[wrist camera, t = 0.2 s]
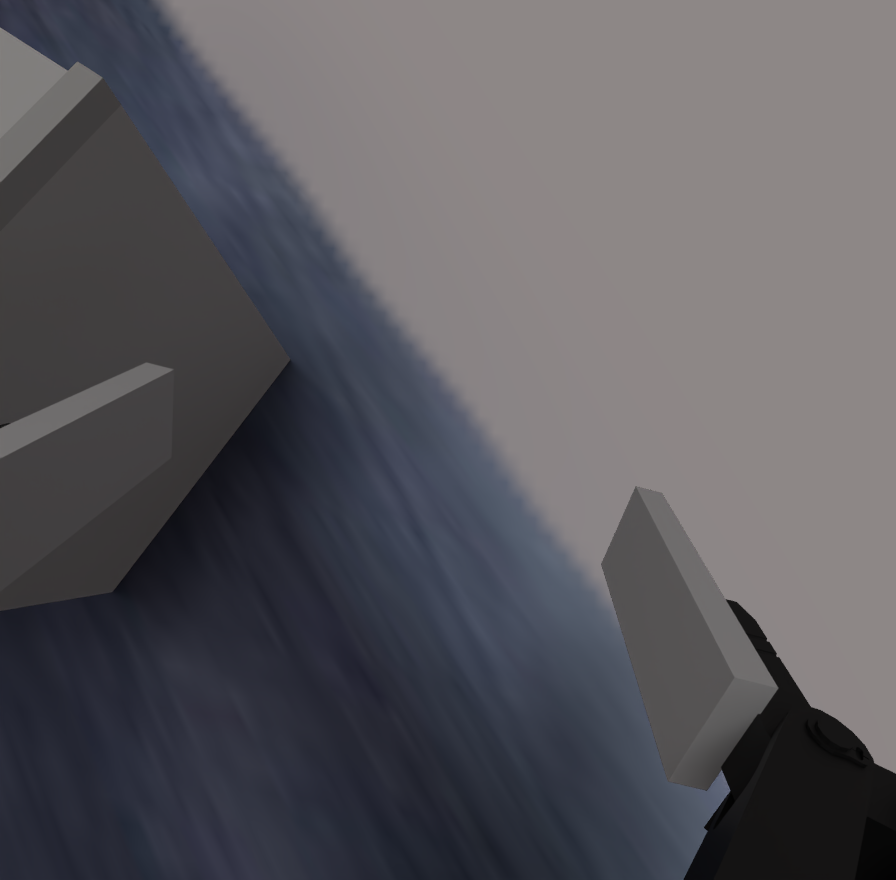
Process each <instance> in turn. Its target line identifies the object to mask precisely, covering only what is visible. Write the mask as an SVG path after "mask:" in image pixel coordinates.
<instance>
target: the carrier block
mask: <svg viewBox="0 0 896 880" xmlns="http://www.w3.org/2000/svg"><path fill="white" fill-rule="evenodd" d="M289 361H290V358H289V357H288V355H287V354H286V352H285V351H284V349H283V348H282V346H281V345H280V343H279V342H278V340H277V339H276V337H275V336H274V334H273V333H272V331H271V330H270V328H269V327H268V325H267V324H266V322H265V321H264V319H263V318H262V316H261V315H260V313H259V312H258V310H257V309H256V307H255V306H254V304H253V303H252V301H251V300H250V298H249V297H248V295H247V294H246V292H245V291H244V289H243V288H242V286H241V285H240V283H239V282H238V280H237V279H236V277H235V276H234V274H233V272H232V271H231V269H230V268H229V266H228V265H227V263H226V262H225V260H224V259H223V257H222V256H221V254H220V253H219V251H218V250H217V248H216V247H215V245H214V244H213V242H212V241H211V239H210V238H209V236H208V235H207V233H206V232H205V230H204V229H203V227H202V226H201V224H200V223H199V221H198V220H197V218H196V217H195V215H194V214H193V212H192V211H191V209H190V208H189V206H188V205H187V203H186V202H185V200H184V199H183V197H182V196H181V194H180V193H179V191H178V190H177V188H176V187H175V185H174V184H173V182H172V181H171V179H170V178H169V176H168V175H167V173H166V172H165V170H164V169H163V167H162V166H161V164H160V163H159V161H158V160H157V158H156V157H155V155H154V154H153V152H152V151H151V149H150V148H149V146H148V145H147V143H146V142H145V140H144V139H143V137H142V136H141V134H140V133H139V131H138V130H137V128H136V127H135V125H134V124H133V122H132V121H131V119H130V118H129V116H128V115H127V113H126V112H125V110H124V109H123V107H122V106H121V104H120V103H119V101H118V100H117V98H116V97H115V95H114V94H113V92H112V91H111V89H110V88H109V86H108V85H107V83H106V82H105V80H104V79H103V78H102V77H101V76H99V75H98V74H96V73H94V72H93V71H91V70H90V69H88V68H87V67H85V66H84V65H82V64H80V63H79V62H76V63H75V64H74V65H73V66H72V67H71V68H70V69H69V70H68V71H67V70H65V69H64V68H62V67H61V66H59V65H58V64H56V63H55V62H53V61H51V60H50V59H48V58H47V57H45V56H44V55H42V54H41V53H39V52H37V51H36V50H34V49H33V48H31V47H30V46H28V45H27V44H25V43H23V42H22V41H20V40H19V39H17V38H16V37H14V36H12V35H11V34H9V33H8V32H6V31H5V30H3V29H2V28H0V425H2V424H6V423H13V422H15V421H18V420H20V419H22V418H24V417H27V416H29V415H31V414H33V413H35V412H38V411H40V410H42V409H44V408H47V407H49V406H51V405H53V404H55V403H58V402H60V401H62V400H64V399H66V398H69V397H71V396H73V395H75V394H78V393H80V392H82V391H84V390H86V389H89V388H91V387H93V386H95V385H98V384H100V383H102V382H104V381H106V380H109V379H111V378H113V377H115V376H117V375H120V374H122V373H124V372H126V371H129V370H131V369H133V368H135V367H137V366H140V365H142V364H144V363H146V362H147V363H151V364H154V365H158V366H162V367H166V368H170V369H174V389H173V422H172V456H171V458H170V459H169V460H168V461H166V462H165V463H164V464H163V465H161V466H160V467H159V468H157V469H156V470H155V471H154V472H152V473H151V474H150V475H148V476H147V477H146V478H145V479H143V480H142V481H141V482H140V483H138V484H137V485H136V486H134V487H133V488H132V489H131V490H129V491H128V492H127V493H125V494H124V495H123V496H122V497H120V498H119V499H118V500H117V501H115V502H114V503H113V504H111V505H110V506H109V507H108V508H106V509H105V510H104V511H102V512H101V513H100V514H99V515H97V516H96V517H95V518H94V519H92V520H91V521H90V522H88V523H87V524H86V525H85V526H83V527H82V528H81V529H79V530H78V531H77V532H76V533H74V534H73V535H72V536H71V537H69V538H68V539H67V540H65V541H64V542H63V543H62V544H60V545H59V546H58V547H57V548H55V549H54V550H53V551H51V552H50V553H49V554H48V555H46V556H45V557H44V558H42V559H41V560H40V561H39V562H37V563H36V564H35V565H34V566H32V567H31V568H30V569H28V570H27V571H26V572H25V573H23V574H22V575H21V576H19V577H18V578H17V579H16V580H14V581H13V582H12V583H11V584H9V585H8V586H7V587H5V588H4V589H3V590H2V591H0V611H2V610H8V609H14V608H20V607H26V606H32V605H38V604H44V603H50V602H56V601H62V600H68V599H75V598H81V597H87V596H93V595H99V594H105V593H111V592H113V591H114V590H115V588H116V587H117V586H118V584H119V583H120V582H121V580H122V579H123V578H124V576H125V575H126V574H127V573H128V571H129V570H130V569H131V567H132V566H133V565H134V563H135V562H136V561H137V559H138V558H139V557H140V556H141V554H142V553H143V552H144V550H145V549H146V548H147V546H148V545H149V544H150V542H151V541H152V540H153V539H154V537H155V536H156V535H157V533H158V532H159V531H160V529H161V528H162V527H163V526H164V524H165V523H166V522H167V520H168V519H169V518H170V516H171V515H172V514H173V512H174V511H175V510H176V509H177V507H178V506H179V505H180V503H181V502H182V501H183V499H184V498H185V497H186V495H187V494H188V493H189V492H190V490H191V489H192V488H193V486H194V485H195V484H196V482H197V481H198V480H199V479H200V477H201V476H202V475H203V473H204V472H205V471H206V469H207V468H208V467H209V465H210V464H211V463H212V462H213V460H214V459H215V458H216V456H217V455H218V454H219V452H220V451H221V450H222V448H223V447H224V446H225V445H226V443H227V442H228V441H229V439H230V438H231V437H232V435H233V434H234V433H235V432H236V430H237V429H238V428H239V426H240V425H241V424H242V422H243V421H244V420H245V418H246V417H247V416H248V415H249V413H250V412H251V411H252V409H253V408H254V407H255V405H256V404H257V403H258V401H259V400H260V399H261V398H262V396H263V395H264V394H265V392H266V391H267V390H268V388H269V387H270V386H271V384H272V383H273V382H274V381H275V379H276V378H277V377H278V375H279V374H280V373H281V371H282V370H283V369H284V368H285V366H286V365H287V364H288V362H289Z"/></svg>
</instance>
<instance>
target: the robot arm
mask: <svg viewBox="0 0 896 880" xmlns="http://www.w3.org/2000/svg"><path fill="white" fill-rule="evenodd" d="M173 389H174V369H170V368H166V367H162V366H158V365H154V364H151V363H147V362H146V363H144V364H142V365H140V366H137V367H135V368H133V369H131V370H129V371H126V372H124V373H122V374H120V375H117V376H115V377H113V378H111V379H109V380H106V381H104V382H102V383H100V384H98V385H95V386H93V387H91V388H89V389H86V390H84V391H82V392H80V393H78V394H75V395H73V396H71V397H69V398H66V399H64V400H62V401H60V402H58V403H55V404H53V405H51V406H49V407H47V408H44V409H42V410H40V411H38V412H35V413H33V414H31V415H29V416H27V417H24V418H22V419H20V420H18V421H15V422H13V423H6V424H2V425H0V591H2V590H3V589H4V588H5V587H7V586H8V585H9V584H11V583H12V582H13V581H14V580H16V579H17V578H18V577H19V576H21V575H22V574H23V573H25V572H26V571H27V570H28V569H30V568H31V567H32V566H34V565H35V564H36V563H37V562H39V561H40V560H41V559H42V558H44V557H45V556H46V555H48V554H49V553H50V552H51V551H53V550H54V549H55V548H57V547H58V546H59V545H60V544H62V543H63V542H64V541H65V540H67V539H68V538H69V537H71V536H72V535H73V534H74V533H76V532H77V531H78V530H79V529H81V528H82V527H83V526H85V525H86V524H87V523H88V522H90V521H91V520H92V519H94V518H95V517H96V516H97V515H99V514H100V513H101V512H102V511H104V510H105V509H106V508H108V507H109V506H110V505H111V504H113V503H114V502H115V501H117V500H118V499H119V498H120V497H122V496H123V495H124V494H125V493H127V492H128V491H129V490H131V489H132V488H133V487H134V486H136V485H137V484H138V483H140V482H141V481H142V480H143V479H145V478H146V477H147V476H148V475H150V474H151V473H152V472H154V471H155V470H156V469H157V468H159V467H160V466H161V465H163V464H164V463H165V462H166V461H168V460H169V459H170V458H171V456H172V422H173ZM601 565H602V569H603V572H604V575H605V578H606V581H607V585H608V588H609V591H610V595H611V598H612V601H613V604H614V608H615V611H616V614H617V617H618V621H619V624H620V627H621V630H622V634H623V637H624V640H625V644H626V647H627V650H628V653H629V657H630V660H631V663H632V666H633V670H634V673H635V676H636V679H637V683H638V686H639V689H640V692H641V696H642V699H643V702H644V705H645V709H646V712H647V715H648V718H649V722H650V725H651V728H652V731H653V735H654V738H655V741H656V745H657V748H658V751H659V754H660V758H661V761H662V764H663V767H664V771H665V774H666V777H667V780H668V782H673V783H677V784H681V785H685V786H689V787H694V788H698V789H702V790H706V791H707V790H708V788H709V787H710V786H711V784H712V783H713V781H714V780H715V778H716V777H717V776H718V774H719V773H720V771H721V770H722V771H723V773H724V776H725V778H726V781H727V783H728V785H729V788H730V790H731V791H730V792H729V794H728V795H727V797H726V798H725V799H724V801H723V802H722V803H721V805H720V806H719V808H718V809H717V810H716V812H715V813H714V814H713V816H712V817H711V819H710V820H709V821H708V823H707V824H706V825H705V827H704V828H705V829H706V830H707V831H708V832H707V834H706V836H705V838H704V840H703V842H702V844H701V846H700V848H699V850H698V852H697V854H696V856H695V858H694V860H693V862H692V864H691V866H690V868H689V870H688V872H687V874H686V876H685V878H684V880H896V774H895V773H893V772H891V771H889V770H887V769H885V768H883V767H881V766H878V765H877V764H875V763H874V761H873V758H872V756H871V755H870V753H869V751H868V750H867V748H866V746H865V745H864V744H863V743H862V742H861V741H860V739H858V737H857V736H856V735H855V734H854V733H853V732H852V731H851V730H849V729H848V728H847V727H846V726H844V725H843V724H842V723H841V722H839V721H838V720H837V719H835V718H834V717H832V716H830V715H828V714H826V713H825V712H823V711H821V710H818V709H815V708H812V707H811V706H810V705H809V704H808V702H807V700H806V699H805V697H804V696H803V694H802V692H801V691H800V689H799V688H798V686H797V685H796V683H795V682H794V680H793V678H792V677H791V675H790V674H789V672H788V670H787V669H786V667H785V666H784V664H783V663H782V661H781V659H780V658H779V657H776V654H777V653H776V652H775V650H774V649H773V647H772V645H771V644H770V642H767V638H766V636H765V635H764V633H763V631H762V630H761V628H760V627H759V625H758V624H757V622H756V621H755V619H754V618H753V617H752V616H751V615H749V614H748V613H747V612H746V611H745V610H744V609H743V608H742V607H741V606H740V605H739V604H738V603H737V602H734V601H731V600H727V599H725V598H724V596H723V594H722V593H721V591H720V589H719V588H718V586H717V584H716V583H715V581H714V580H713V578H712V576H711V574H710V573H709V571H708V569H707V568H706V566H705V564H704V563H703V561H702V559H701V558H700V556H699V554H698V552H697V551H696V549H695V547H694V546H693V544H692V542H691V541H690V539H689V537H688V536H687V534H686V532H685V531H684V529H683V527H682V526H681V524H680V522H679V521H678V519H677V517H676V516H675V514H674V512H673V511H672V509H671V507H670V505H669V504H668V503H667V500H666V499H665V497H664V495H663V494H662V493H660V492H656V491H652V490H648V489H644V488H640V487H635V489H634V492H633V494H632V496H631V498H630V501H629V503H628V505H627V507H626V510H625V512H624V514H623V516H622V519H621V521H620V523H619V526H618V528H617V530H616V532H615V534H614V537H613V539H612V541H611V543H610V546H609V548H608V550H607V553H606V555H605V557H604V559H603V561H602V564H601Z"/></svg>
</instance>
